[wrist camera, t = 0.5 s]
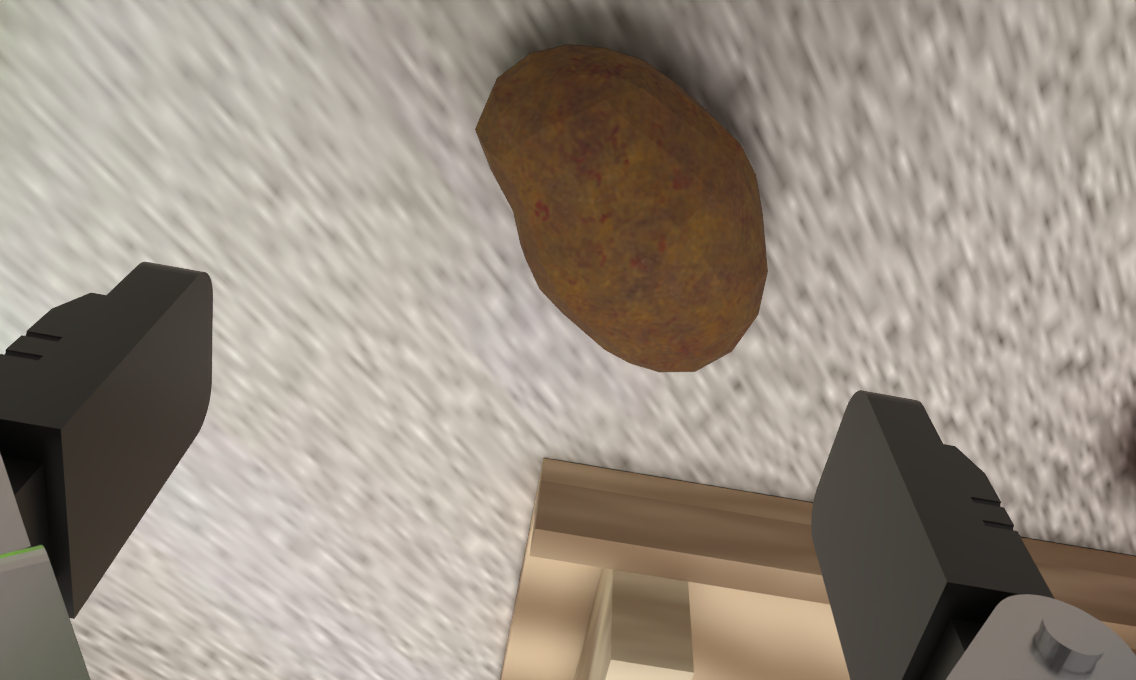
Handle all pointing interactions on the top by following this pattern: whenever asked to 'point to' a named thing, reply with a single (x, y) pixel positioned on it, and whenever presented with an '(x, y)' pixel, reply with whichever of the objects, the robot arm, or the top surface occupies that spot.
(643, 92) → the potato
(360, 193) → the top surface
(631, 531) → the vise base
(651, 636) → the jaw
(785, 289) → the top surface
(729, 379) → the top surface
